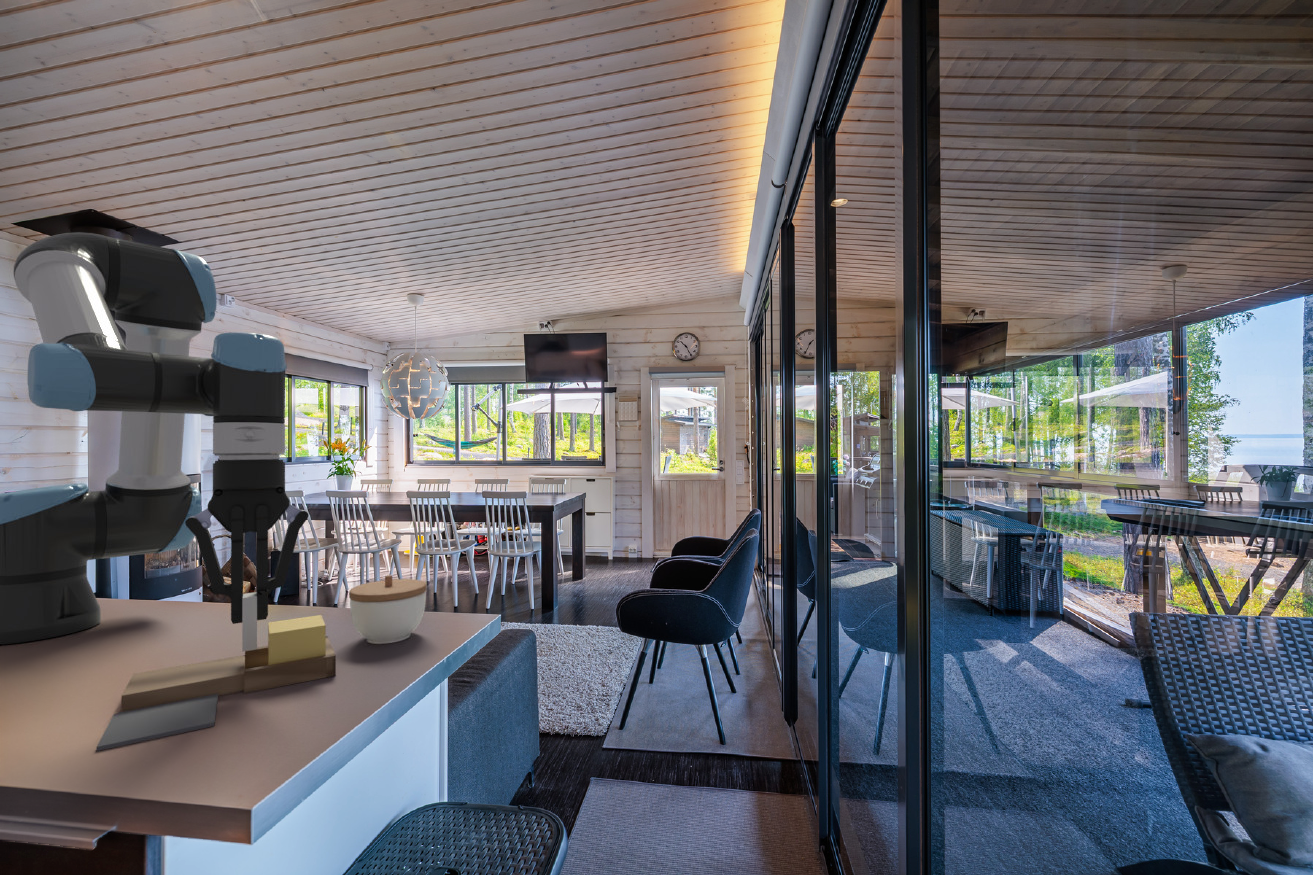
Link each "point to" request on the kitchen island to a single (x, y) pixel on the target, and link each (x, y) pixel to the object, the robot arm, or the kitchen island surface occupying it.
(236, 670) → the brown tray
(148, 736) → the mat
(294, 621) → the block
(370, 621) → the lidded jar
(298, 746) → the kitchen island surface
